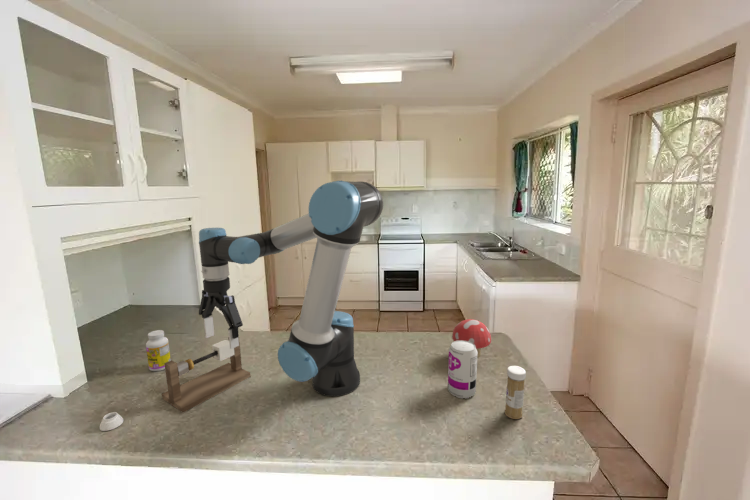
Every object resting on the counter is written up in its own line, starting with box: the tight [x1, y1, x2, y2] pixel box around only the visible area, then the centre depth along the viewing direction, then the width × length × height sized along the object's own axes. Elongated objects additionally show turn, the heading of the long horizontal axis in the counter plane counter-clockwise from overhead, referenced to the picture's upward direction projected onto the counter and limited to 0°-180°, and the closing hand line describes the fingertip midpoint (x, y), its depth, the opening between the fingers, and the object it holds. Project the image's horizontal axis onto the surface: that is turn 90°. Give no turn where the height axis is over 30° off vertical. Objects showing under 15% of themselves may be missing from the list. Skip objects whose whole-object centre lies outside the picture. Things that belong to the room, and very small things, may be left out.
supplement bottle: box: [145, 329, 172, 372], centre depth 119 cm, size 7×7×13 cm
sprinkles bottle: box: [504, 365, 527, 420], centre depth 92 cm, size 5×5×14 cm
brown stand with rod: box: [161, 336, 252, 414], centre depth 107 cm, size 12×22×13 cm, turn 146°
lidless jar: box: [99, 411, 124, 432], centre depth 91 cm, size 5×3×5 cm
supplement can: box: [447, 340, 478, 399], centre depth 103 cm, size 8×8×15 cm
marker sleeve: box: [211, 338, 235, 362], centre depth 111 cm, size 4×5×4 cm
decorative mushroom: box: [451, 318, 492, 360], centre depth 122 cm, size 13×13×15 cm
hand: (221, 341), depth 111 cm, fingers open, 13 cm apart
